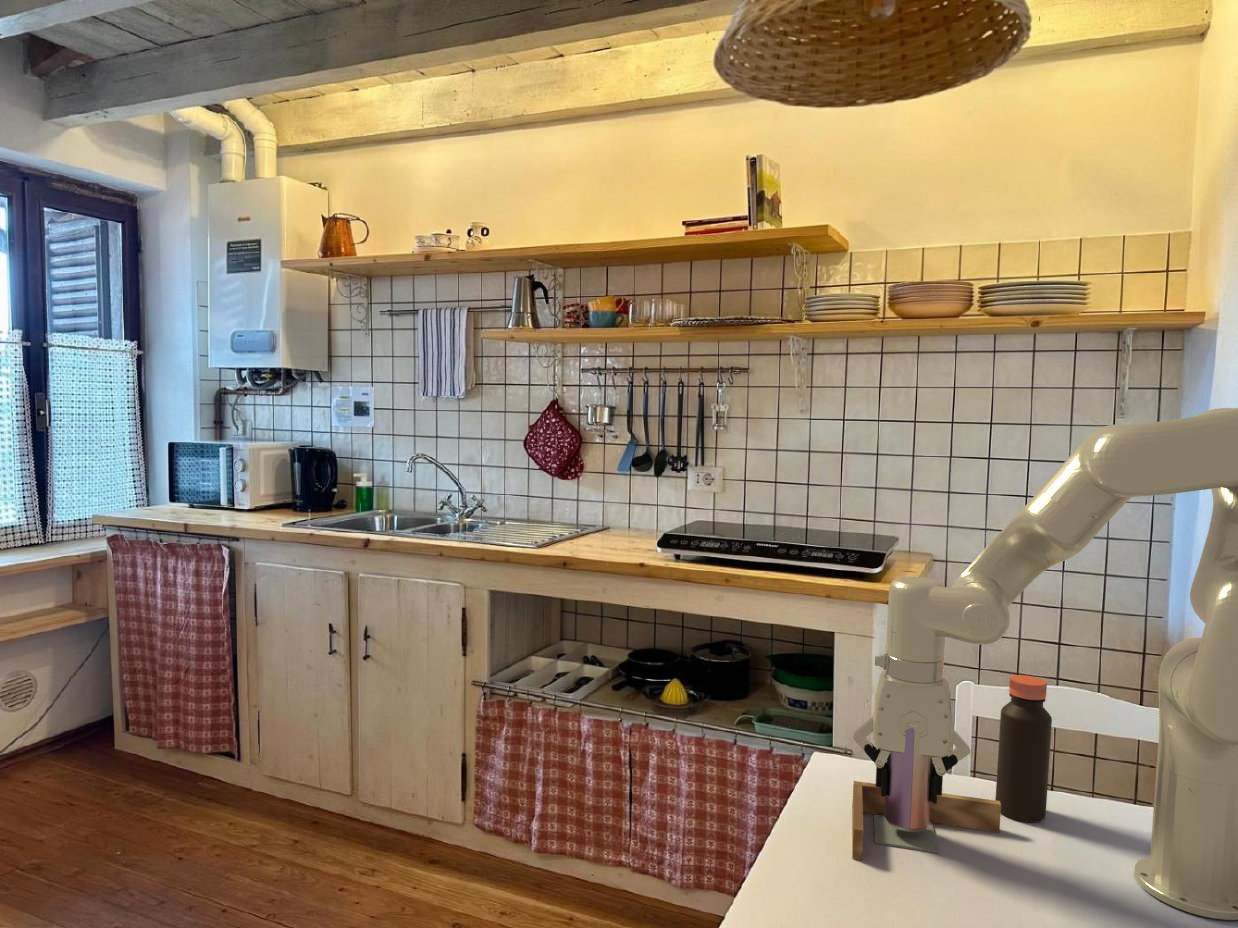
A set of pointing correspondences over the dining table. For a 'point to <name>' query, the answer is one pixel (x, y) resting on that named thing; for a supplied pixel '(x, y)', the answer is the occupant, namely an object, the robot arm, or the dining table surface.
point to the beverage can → (909, 786)
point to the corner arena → (944, 812)
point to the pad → (904, 836)
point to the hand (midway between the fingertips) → (907, 794)
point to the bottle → (1024, 751)
